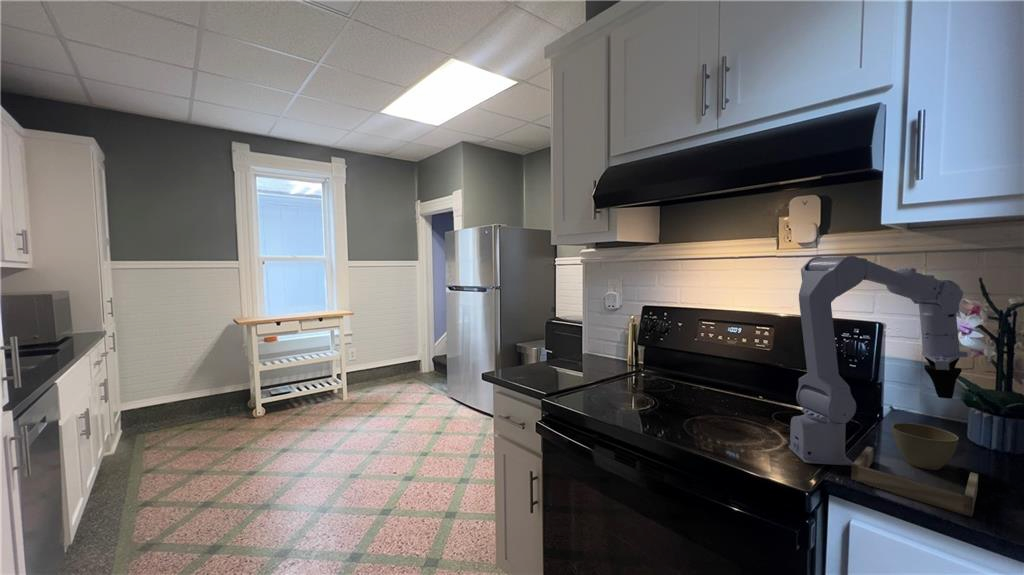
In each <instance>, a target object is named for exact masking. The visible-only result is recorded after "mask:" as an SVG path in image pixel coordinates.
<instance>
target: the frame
mask: <svg viewBox="0 0 1024 575" xmlns="http://www.w3.org/2000/svg"><path fill="white" fill-rule="evenodd" d="M853 462H854V463H853V464H852V465H851V469H850V475H851V476H850V479H853V480H856V481H859V482H862V483H864V484H863V485H865V484H866V485H865V486H870V487H872V486H873V487H872V488H875V487H876V488H875V489H878V488H880V489H879V490H882V489H884V490H883V491H885V490H887V491H886V492H888V491H890V492H889V493H891V492H892V494H895V495H899V496H902V497H905V498H909V499H910V500H911V499H912V500H915V501H918V502H920V503H925V504H927V505H932V506H935V507H937V508H942V509H944V510H948V511H950V512H954V513H957V514H960V515H964V516H967V517H970V518H972V517H973V514H974V510H975V504H976V499H977V494H978V489H979V487H978V486H979V473H977V472H972V471H969V472H970V473H969V475H968V476H969V477H968V480H967V484H966V488H965V491H964V493H963V494H962V493H958V492H956V491H951V490H949V489H948V490H947V489H945V488H940V487H937V486H933V485H930V484H926V483H922V482H919V481H915V480H912V479H908V478H905V477H903V476H898V475H894V474H891V473H887V472H883V471H882V470H877V469H873V468H870V466H871V465H872V463H874V447H871V446H866V447H865V449H863V451H862V452H861V453H860V454H859V456H858V457H857V458H856V459H855V460H854V461H853ZM859 482H858V483H859ZM862 483H861V484H862Z"/></svg>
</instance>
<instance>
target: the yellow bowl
mask: <svg viewBox="0 0 1024 575" xmlns="http://www.w3.org/2000/svg"><path fill="white" fill-rule="evenodd" d="M891 430H892V436H893V439H894V442H895V444H896V446H897V448H898V450H899V452H900V454H901V455H902V457H903V458H904V460H905V461H906V463H908V464H910V465H911V466H914V467H916V468H919V469H924V470H928V471H929V470H931V471H939V470H941V469H942V468H943V467H944V466H946V464H947V463H948V462H949V461H950V459H952V457H953V455H954V454H955V452H956V449H957V448H958V444H959V439H960V438H959V436H958V435H957V434H955V433H953V432H950V431H948V430H944V429H942V428H938V427H934V426H930V425H926V424H925V425H924V424H918V423H913V422H912V423H911V422H897V423H896V422H895V423H893V424H892V425H891Z"/></svg>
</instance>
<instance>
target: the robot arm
mask: <svg viewBox="0 0 1024 575" xmlns="http://www.w3.org/2000/svg"><path fill="white" fill-rule="evenodd" d="M800 275H801V284H800V288H799V292H798V302H799V304H798V305H799V311H800V320H801V330H802V337H803V347H804V355H805V362H806V373H805V374H804V375H802V376H800V377H799V378H798V387H797V390H796V402H797V404H798V405H800V407H801V408H802V411H801V412H802V413H804V414H801V415H796V416H795V415H794V416H792V417H791V419H790V425H789V426H790V430H789V431H790V432H789V433H790V434H789V435H790V438H789V441H790V442H789V443H790V444H789V445H788V448H789V449H790V450H791V451H792V452H793V453H794V454H795V455H796V456H797V457H798V458H800V460H802V461H803V462H804V463H806V464H818V465H831V466H837V465H838V466H849V467H850V466H851V465H852V464H853V463H854V462H855V461H852V460H851V459H849V457H847V456H846V426H847V425H846V424H847V423H849V421H850V420H852V418H853V417H855V414H856V412H857V402H856V400H855V399H854V397H853V395H852V393H851V387H850V385H849V384H848V383H847V382H846V380H845V379H843V377H842V376H841V375H840V374H839V364H838V356H837V355H838V354H837V346H836V338H835V337H836V336H835V330H834V329H835V328H834V319H833V312H832V311H833V309H832V302H834V301H835V299H836V298H838V297H840V296H842V295H844V294H845V293H846V292H848V291H851V289H853V288H855V287H857V286H858V285H859V284H861V283H862V282H863V281H869V282H872V283H876V284H880V285H884V286H885V287H886V288H887V290H888V292H890V293H892V294H893V295H897V296H900V297H903V298H907V299H910V300H911V301H912V302H913V304H916V305H917V304H918V310H919V311H918V312H919V322H920V330H921V341H922V343H921V344H922V351H921V355H922V356H923V357H924V359H925V360H926V361H927V363H928V364H924V365H923V368H924V370H925V372H926V373H927V375H928V376H929V377H930V379H931V382H932V384H933V387H934V388H935V389H934V390H935V393H936V394H937V397H938V398H940V399H951V400H952V399H953V397H954V393H955V389H956V388H955V387H956V382H957V380H958V378H959V376H960V375H961V373H962V371H963V370H962V368H961V367H956V365H957V363H958V362H959V360H960V358H967V357H968V356H969V355H968V354H969V353H968V352H967V351H960V344H959V343H960V340H959V330H958V320H957V319H958V318H957V317H958V316H957V313H959V311H960V303H961V302H962V299H963V296H964V290H962V289H961V287H960V285H959V284H957V283H956V282H955V281H953V280H951V279H950V280H949V279H938V278H936V277H935V275H934V274H923V273H919V272H917V269H916V268H913V267H904V268H900V269H897V270H893V269H890V268H887V267H885V266H882V265H880V264H877V263H876V262H875V263H874V262H873V261H870V260H868V259H867V258H863V257H858V256H855V255H847V256H831V257H830V256H827V257H824V256H823V257H822V256H815V257H812V258H810V259H809V260H808V261H807V262H806V263H805V264H804V265H803V266H802V267H801V268H800Z"/></svg>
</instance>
